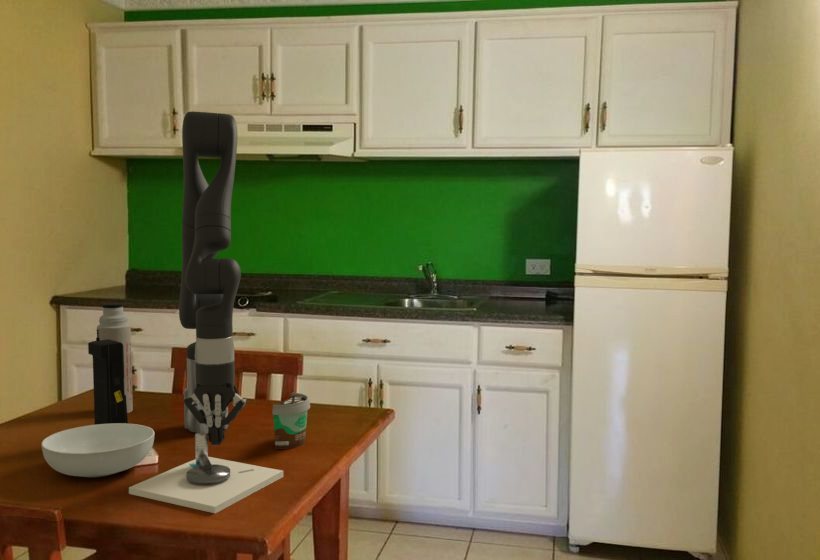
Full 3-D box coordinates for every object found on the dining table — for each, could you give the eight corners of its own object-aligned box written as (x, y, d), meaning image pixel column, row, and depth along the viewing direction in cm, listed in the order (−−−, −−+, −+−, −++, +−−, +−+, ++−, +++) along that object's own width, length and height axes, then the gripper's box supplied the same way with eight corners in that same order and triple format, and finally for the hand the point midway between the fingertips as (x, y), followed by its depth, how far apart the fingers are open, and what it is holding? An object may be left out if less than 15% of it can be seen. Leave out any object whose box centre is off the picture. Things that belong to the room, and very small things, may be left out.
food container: (299, 452, 161) (299, 407, 160) (272, 450, 162) (272, 405, 162) (317, 435, 173) (317, 393, 172) (292, 434, 174) (292, 391, 174)
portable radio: (133, 442, 167) (130, 331, 165) (106, 448, 163) (103, 334, 160) (116, 435, 172) (113, 327, 170) (90, 441, 168) (87, 330, 166)
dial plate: (128, 493, 137) (128, 486, 137) (203, 461, 155) (203, 455, 155) (215, 513, 129) (215, 506, 128) (283, 476, 146) (283, 470, 146)
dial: (234, 480, 140) (233, 449, 139) (189, 486, 136) (189, 454, 136) (221, 459, 152) (220, 430, 151) (180, 464, 148) (179, 434, 148)
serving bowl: (175, 457, 158) (174, 425, 157) (114, 493, 137) (113, 457, 137) (88, 449, 162) (87, 418, 162) (17, 483, 142) (15, 448, 141)
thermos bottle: (137, 407, 197) (134, 301, 194) (125, 415, 189) (122, 305, 186) (107, 407, 197) (104, 301, 194) (94, 415, 189) (90, 305, 186)
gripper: (253, 356, 152) (254, 440, 153) (191, 354, 153) (193, 437, 155) (240, 363, 144) (241, 451, 146) (174, 361, 146) (177, 448, 148)
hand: (216, 444), depth 150 cm, fingers closed
